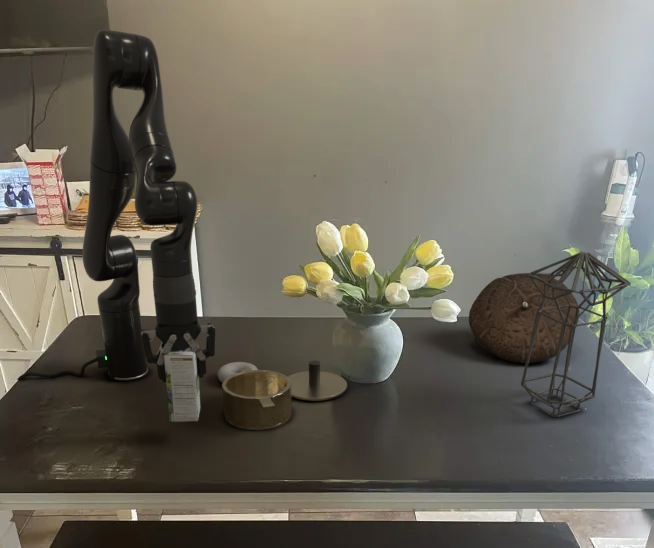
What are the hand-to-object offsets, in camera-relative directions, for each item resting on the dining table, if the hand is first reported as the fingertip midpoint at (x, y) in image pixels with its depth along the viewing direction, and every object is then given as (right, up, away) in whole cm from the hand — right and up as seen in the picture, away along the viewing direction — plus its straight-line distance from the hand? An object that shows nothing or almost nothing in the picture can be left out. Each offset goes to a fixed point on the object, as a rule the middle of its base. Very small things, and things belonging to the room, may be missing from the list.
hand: (182, 378), depth 133 cm
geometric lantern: (+80, -5, +21) cm, 83 cm away
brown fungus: (+81, +12, +52) cm, 97 cm away
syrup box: (0, -7, +4) cm, 8 cm away
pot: (+13, -7, +16) cm, 22 cm away
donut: (+7, +2, +32) cm, 33 cm away
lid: (+25, +1, +28) cm, 38 cm away
